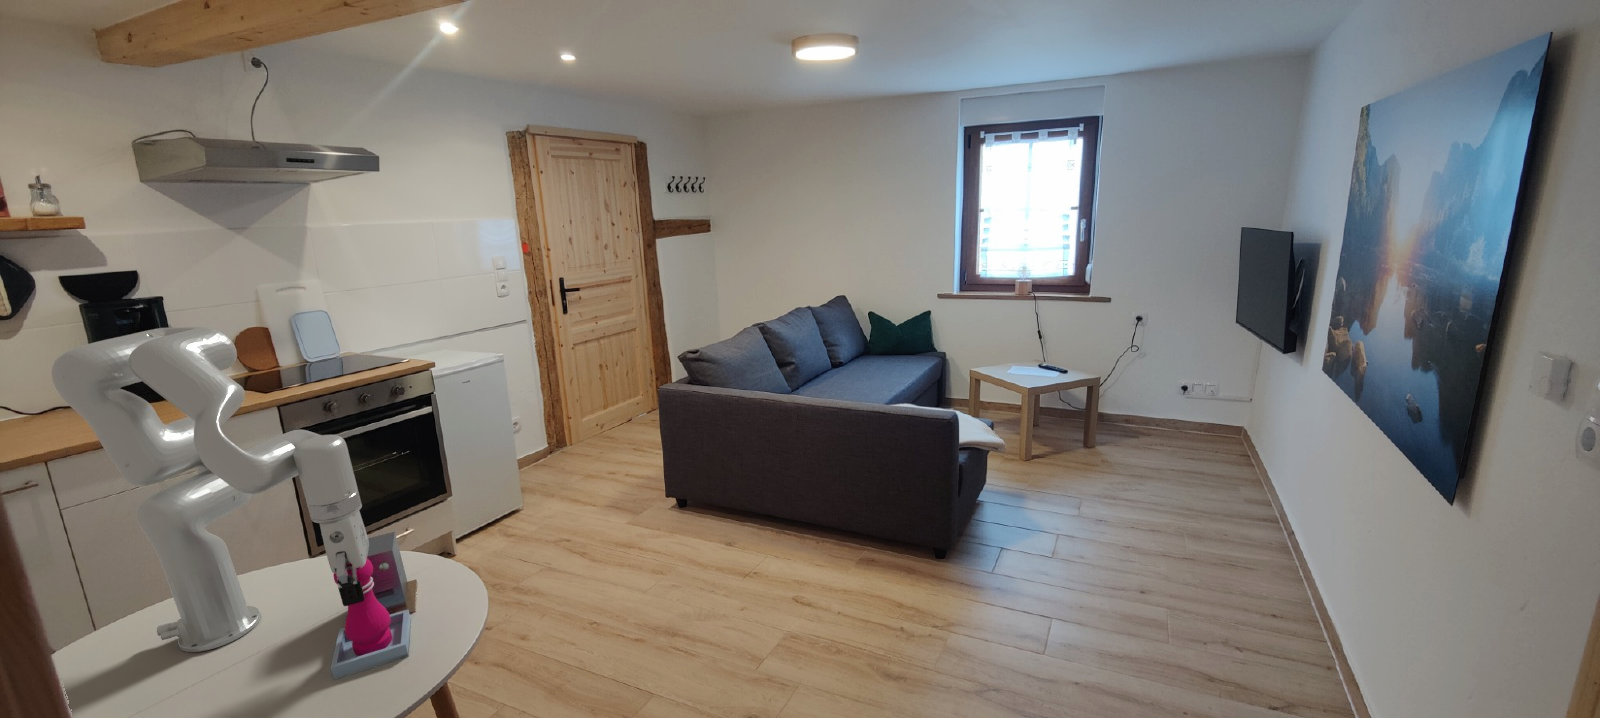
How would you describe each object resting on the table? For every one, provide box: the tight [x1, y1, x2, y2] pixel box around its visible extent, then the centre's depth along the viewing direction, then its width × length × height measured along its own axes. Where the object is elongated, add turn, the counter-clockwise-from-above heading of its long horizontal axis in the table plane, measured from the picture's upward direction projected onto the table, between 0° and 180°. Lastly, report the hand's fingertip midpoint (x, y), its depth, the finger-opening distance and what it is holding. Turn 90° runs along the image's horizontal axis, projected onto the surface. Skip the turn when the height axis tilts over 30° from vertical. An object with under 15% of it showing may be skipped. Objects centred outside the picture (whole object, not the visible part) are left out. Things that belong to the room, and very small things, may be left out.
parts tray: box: [330, 610, 412, 680], centre depth 126 cm, size 12×12×3 cm
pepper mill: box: [333, 559, 392, 656], centre depth 124 cm, size 7×7×20 cm
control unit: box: [367, 531, 418, 615], centre depth 137 cm, size 11×11×14 cm
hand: (357, 588), depth 123 cm, fingers open, 9 cm apart
